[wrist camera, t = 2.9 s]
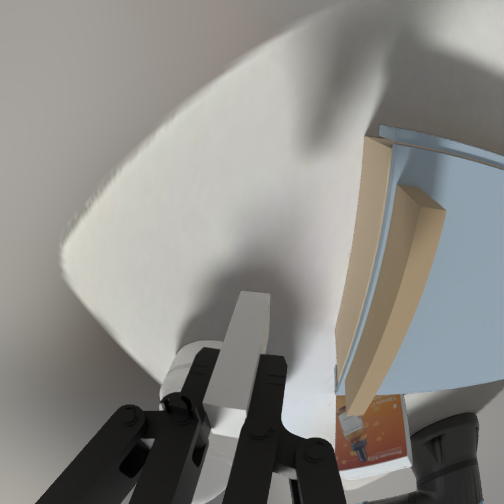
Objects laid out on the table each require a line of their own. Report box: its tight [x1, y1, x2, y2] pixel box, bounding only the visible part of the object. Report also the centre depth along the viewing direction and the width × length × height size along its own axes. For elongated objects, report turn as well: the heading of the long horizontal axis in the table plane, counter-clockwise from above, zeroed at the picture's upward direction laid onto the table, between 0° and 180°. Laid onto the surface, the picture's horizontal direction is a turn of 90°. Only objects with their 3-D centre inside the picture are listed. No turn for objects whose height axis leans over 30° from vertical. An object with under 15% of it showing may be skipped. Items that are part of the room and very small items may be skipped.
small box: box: [335, 394, 413, 481], centre depth 25 cm, size 8×6×10 cm
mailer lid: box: [334, 125, 504, 416], centre depth 13 cm, size 19×22×6 cm
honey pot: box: [159, 340, 239, 504], centre depth 23 cm, size 13×13×18 cm
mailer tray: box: [335, 136, 504, 383], centre depth 16 cm, size 17×22×6 cm
